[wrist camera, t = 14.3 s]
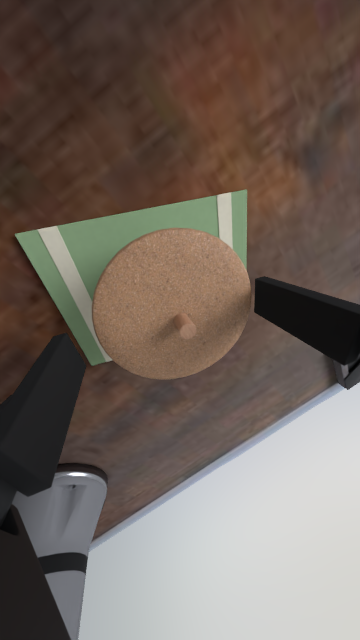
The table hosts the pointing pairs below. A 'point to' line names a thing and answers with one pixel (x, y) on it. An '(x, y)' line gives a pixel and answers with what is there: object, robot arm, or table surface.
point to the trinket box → (171, 303)
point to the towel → (110, 237)
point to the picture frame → (348, 373)
